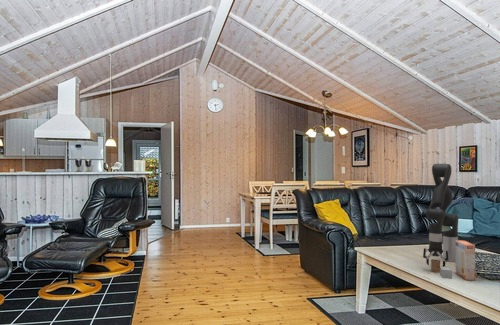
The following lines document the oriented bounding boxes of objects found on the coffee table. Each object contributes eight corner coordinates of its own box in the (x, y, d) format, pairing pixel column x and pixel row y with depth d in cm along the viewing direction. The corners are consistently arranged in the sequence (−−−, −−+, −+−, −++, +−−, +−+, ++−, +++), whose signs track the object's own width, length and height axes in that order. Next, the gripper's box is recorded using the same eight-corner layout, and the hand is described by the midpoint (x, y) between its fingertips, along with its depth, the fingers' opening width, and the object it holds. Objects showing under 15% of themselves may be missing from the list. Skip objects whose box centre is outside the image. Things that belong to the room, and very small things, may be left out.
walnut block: (431, 270, 230) (431, 259, 230) (440, 271, 228) (440, 260, 228) (431, 271, 226) (431, 260, 226) (440, 273, 223) (440, 261, 223)
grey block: (440, 275, 218) (440, 267, 218) (449, 276, 217) (449, 268, 217) (442, 278, 213) (442, 269, 213) (452, 278, 212) (452, 270, 212)
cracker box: (475, 280, 208) (475, 245, 208) (464, 280, 209) (464, 244, 209) (465, 273, 222) (465, 240, 222) (455, 273, 223) (455, 239, 223)
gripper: (448, 240, 227) (448, 266, 226) (423, 238, 234) (423, 263, 233) (448, 242, 220) (448, 268, 220) (422, 240, 227) (422, 265, 227)
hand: (435, 265), depth 226 cm, fingers open, 8 cm apart
